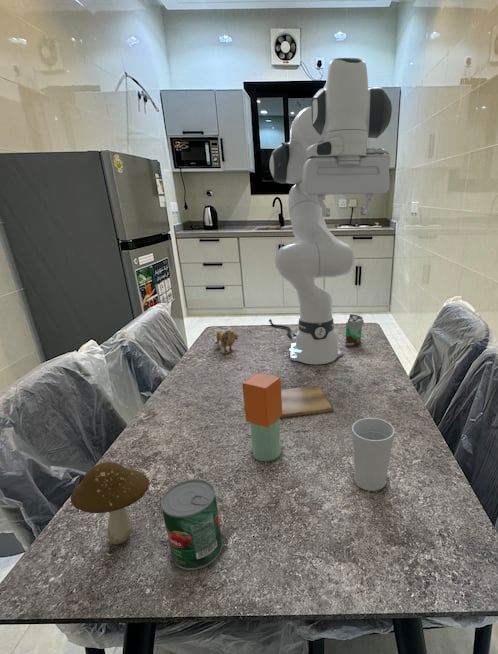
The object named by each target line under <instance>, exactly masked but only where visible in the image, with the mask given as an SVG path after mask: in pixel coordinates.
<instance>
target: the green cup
mask: <svg viewBox="0 0 498 654" xmlns="http://www.w3.org/2000/svg"><path fill="white" fill-rule="evenodd" d="M280 424H281V423H280V417H279V418H278V419H277V420H276V421H275V422H274V423H273V424H272V425H271V426H269V427H265V426H261V425H258V424H254V423H250V422H249V426H250V438H251V449H252V456H253V458H254V459H255V460H257V461H259V462H272V461H274V460H277V459H278V458H279V457H280V456H281V454H282V443H281V440H282V439H281V425H280Z"/></svg>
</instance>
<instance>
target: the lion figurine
mask: <svg viewBox="0 0 498 654" xmlns="http://www.w3.org/2000/svg"><path fill="white" fill-rule="evenodd" d="M215 337H216V342H214V345H217V347H216V349H217V350H220V349H221V347H220V345H221V346H222V347H223V351H224V352H223V354H225V355H227V354H228V350H229V352H230V353H233V352H234V349H232V347H233V345H234V343H235V342H236V341H238V340H239V338H240V335H239V334H238V333H237V332H235V330H234V329H228V330H226V331H224V330H218V331H217V332H216V336H215ZM227 347H228V350H227Z"/></svg>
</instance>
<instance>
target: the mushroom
mask: <svg viewBox="0 0 498 654" xmlns="http://www.w3.org/2000/svg"><path fill="white" fill-rule="evenodd" d="M150 483H151V482H150V479H149V477H147V475H145V473H143V472H141V471H139V470H137V469H132V468H128V467H125V466H123V465H122V464H120V463H118V462H114V461H104V462H100V463H97V464H96V465H94V466H92V467H91V468H89V470H87V472H86V473H85V474H84V476H83V478H82V480H81V482H79V483H78V484H77V485H76V486H75V488H74V489H73V490H72V492H71V494H70V503H71V505H72V506H73V507H74V508H75V509H76V510H78V511H80V512H84V513H87V514H105V513H109V515H108V522H107V523H108V525H107V539H108V541H109V542H110V543H111V544H113V545H120V544H123V543H124V542H127V540H129V538H130V536H131V534H132V530H133V525H132V521H131V517H130V514H129V513H128V510H127V507H130V506H132V505H133V504H135V503H137V502H138V501H139V500H141V499H142V498H143V497H144V496H145V494H146V493H147V491H148V490H149V487H150Z"/></svg>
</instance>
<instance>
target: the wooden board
mask: <svg viewBox="0 0 498 654" xmlns="http://www.w3.org/2000/svg"><path fill="white" fill-rule="evenodd" d="M281 398H282V416H281V417H279V419H284V418H292V417H297V416H306V415H313V414H321V413H328V412H333V407H332V406H331V403H330V402H329V400H328V399H327V397H326V394H325V392H323V389H322V388H321V386H320V385H309V386H301V387H292V388H284V389H283V388H282V389H281Z"/></svg>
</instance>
